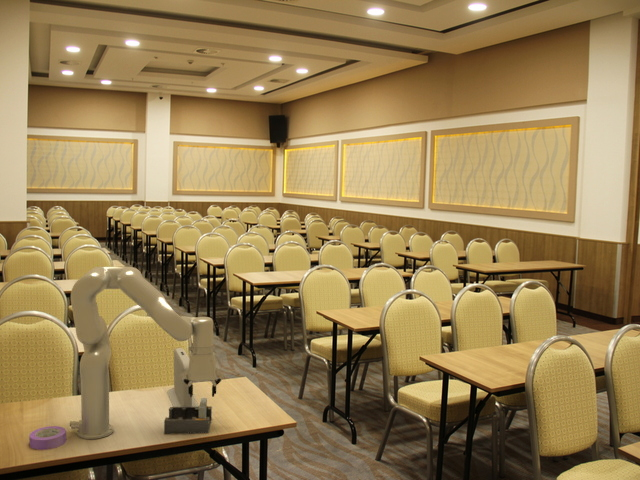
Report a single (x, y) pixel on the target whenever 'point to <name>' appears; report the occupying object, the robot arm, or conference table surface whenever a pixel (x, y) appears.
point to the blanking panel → (203, 408)
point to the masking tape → (47, 437)
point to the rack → (187, 421)
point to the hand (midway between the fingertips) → (202, 395)
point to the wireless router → (181, 382)
